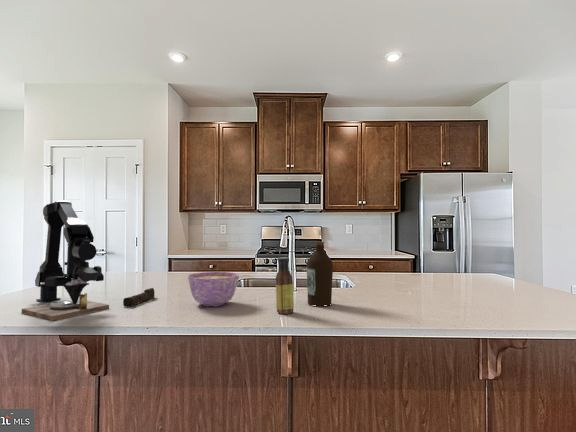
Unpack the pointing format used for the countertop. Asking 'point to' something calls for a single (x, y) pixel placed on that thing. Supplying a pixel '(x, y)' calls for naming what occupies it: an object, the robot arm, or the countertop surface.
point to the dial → (70, 303)
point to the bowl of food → (213, 287)
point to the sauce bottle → (284, 287)
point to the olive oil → (319, 277)
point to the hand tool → (139, 298)
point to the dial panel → (63, 311)
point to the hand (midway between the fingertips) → (74, 304)
